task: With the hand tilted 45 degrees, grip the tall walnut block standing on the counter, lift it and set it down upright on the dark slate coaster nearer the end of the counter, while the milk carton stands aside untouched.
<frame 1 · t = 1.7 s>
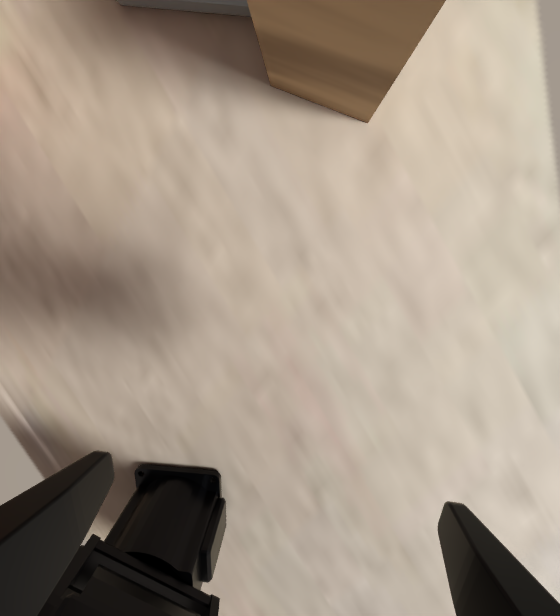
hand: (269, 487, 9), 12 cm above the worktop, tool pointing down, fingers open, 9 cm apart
walnut block: (339, 45, 16), on the worktop
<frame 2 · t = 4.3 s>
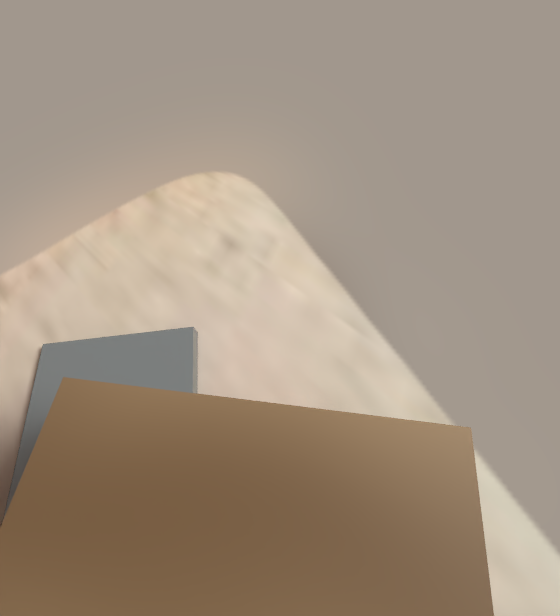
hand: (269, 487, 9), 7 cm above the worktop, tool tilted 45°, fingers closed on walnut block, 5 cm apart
slate coaster: (117, 415, 16), on the worktop
walnut block: (275, 512, 14), on the worktop, touching gripper
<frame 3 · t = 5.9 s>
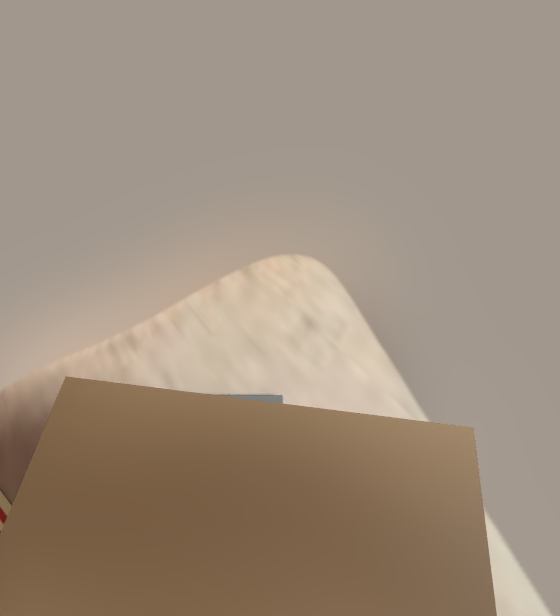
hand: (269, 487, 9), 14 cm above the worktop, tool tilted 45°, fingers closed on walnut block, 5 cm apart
slate coaster: (222, 458, 21), on the worktop
walnut block: (276, 511, 14), point 7 cm above the worktop, touching gripper
when the fingers open (8 cm above the worktop, at t = 7.6 s): walnut block stays where it is, resting on slate coaster.
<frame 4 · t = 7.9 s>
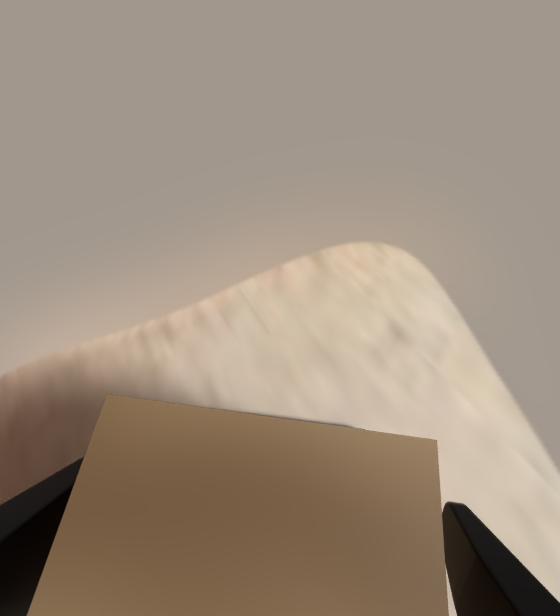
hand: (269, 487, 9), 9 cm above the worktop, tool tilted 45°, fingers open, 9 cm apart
walnut block: (276, 509, 15), point 1 cm above the worktop, touching slate coaster
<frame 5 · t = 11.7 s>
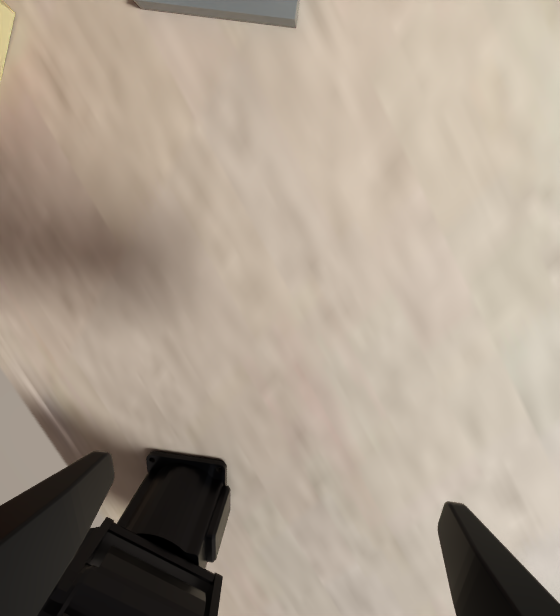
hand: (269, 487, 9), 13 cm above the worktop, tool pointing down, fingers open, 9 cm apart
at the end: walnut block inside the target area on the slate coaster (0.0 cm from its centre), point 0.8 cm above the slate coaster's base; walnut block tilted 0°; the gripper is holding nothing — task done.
